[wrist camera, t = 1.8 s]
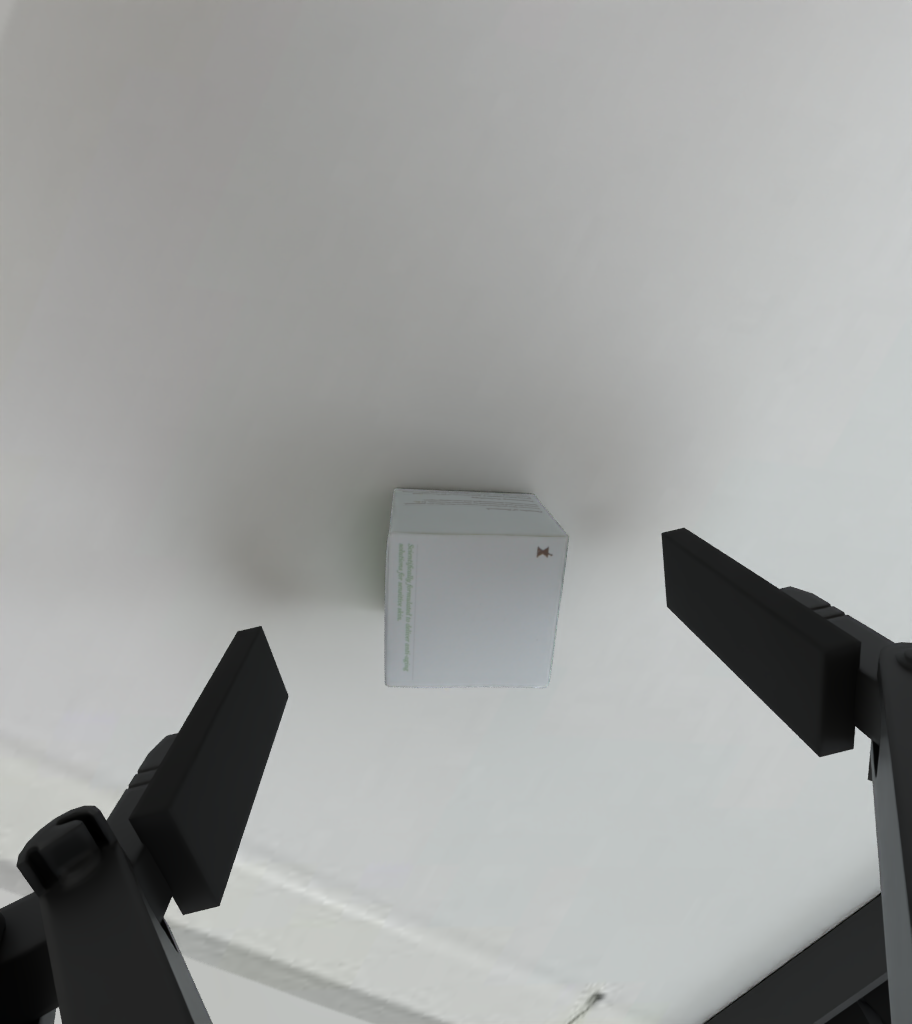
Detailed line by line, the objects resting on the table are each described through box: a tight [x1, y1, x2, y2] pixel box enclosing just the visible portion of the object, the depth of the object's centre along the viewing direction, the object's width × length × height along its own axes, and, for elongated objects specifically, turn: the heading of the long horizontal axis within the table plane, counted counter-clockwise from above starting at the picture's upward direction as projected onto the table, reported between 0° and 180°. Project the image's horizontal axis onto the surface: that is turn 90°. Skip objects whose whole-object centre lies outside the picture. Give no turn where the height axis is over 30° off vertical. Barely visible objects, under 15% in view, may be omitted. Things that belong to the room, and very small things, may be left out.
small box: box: [385, 488, 569, 688], centre depth 18 cm, size 6×6×5 cm
